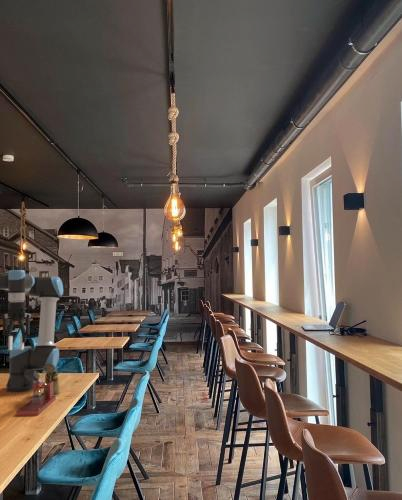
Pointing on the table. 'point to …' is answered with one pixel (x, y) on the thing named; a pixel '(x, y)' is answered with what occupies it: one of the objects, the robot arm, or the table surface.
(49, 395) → the nutcracker base
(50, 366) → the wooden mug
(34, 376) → the nutcracker lever
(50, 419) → the table surface
